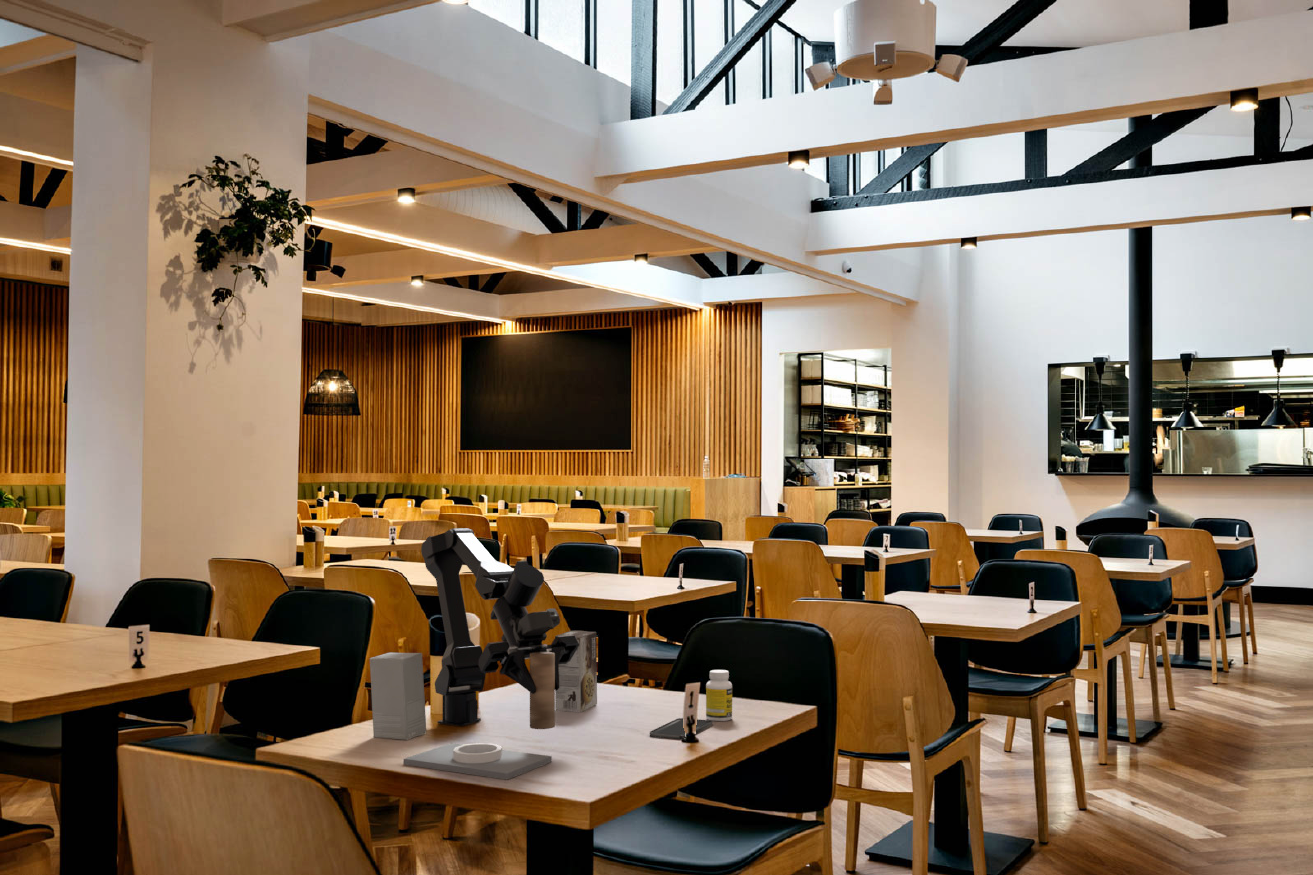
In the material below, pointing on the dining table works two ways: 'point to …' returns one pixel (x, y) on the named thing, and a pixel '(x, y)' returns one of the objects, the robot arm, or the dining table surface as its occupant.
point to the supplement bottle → (719, 696)
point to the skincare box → (398, 695)
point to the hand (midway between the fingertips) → (546, 690)
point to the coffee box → (578, 676)
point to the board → (480, 769)
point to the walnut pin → (542, 690)
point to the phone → (678, 729)
